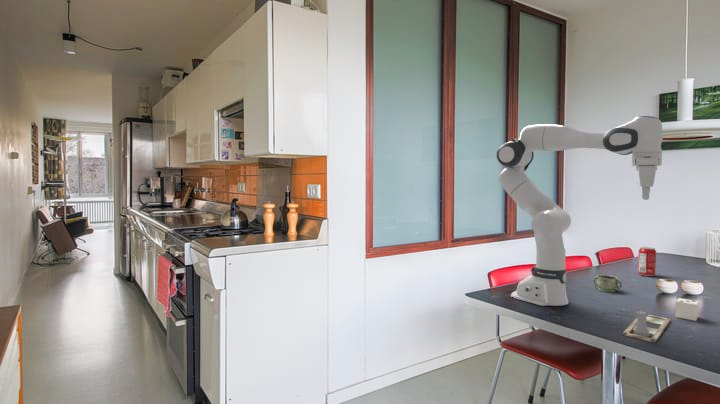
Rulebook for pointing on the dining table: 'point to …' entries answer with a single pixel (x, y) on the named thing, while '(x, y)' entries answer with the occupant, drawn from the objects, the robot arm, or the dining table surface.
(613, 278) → the vessel
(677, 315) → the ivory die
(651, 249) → the soda can
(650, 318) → the track board
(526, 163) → the robot arm
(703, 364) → the dining table surface
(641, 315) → the rook chess piece
